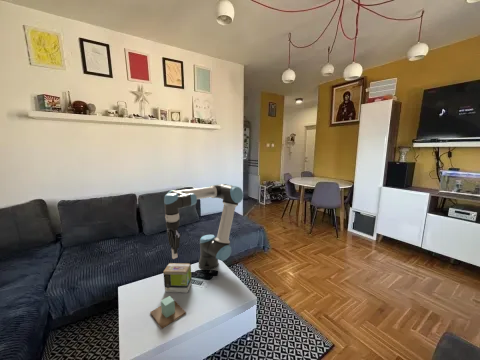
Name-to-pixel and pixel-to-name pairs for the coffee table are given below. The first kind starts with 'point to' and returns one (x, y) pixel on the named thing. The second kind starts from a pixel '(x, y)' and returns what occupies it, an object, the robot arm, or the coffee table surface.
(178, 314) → the board
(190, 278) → the tea box
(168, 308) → the pale green upright block
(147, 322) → the coffee table surface
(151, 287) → the coffee table surface
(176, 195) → the robot arm
